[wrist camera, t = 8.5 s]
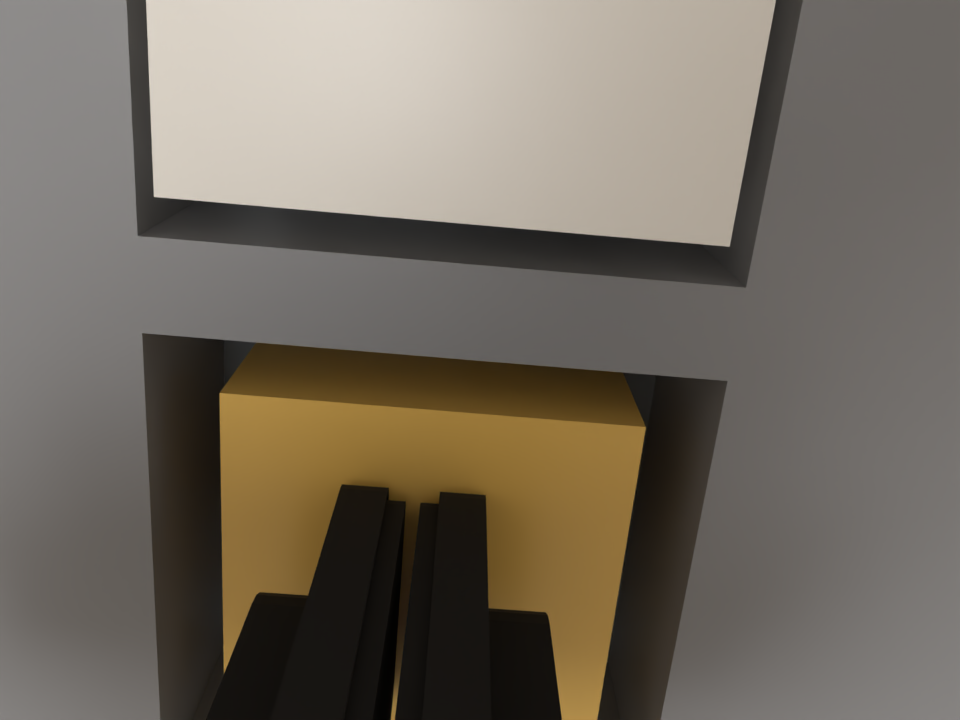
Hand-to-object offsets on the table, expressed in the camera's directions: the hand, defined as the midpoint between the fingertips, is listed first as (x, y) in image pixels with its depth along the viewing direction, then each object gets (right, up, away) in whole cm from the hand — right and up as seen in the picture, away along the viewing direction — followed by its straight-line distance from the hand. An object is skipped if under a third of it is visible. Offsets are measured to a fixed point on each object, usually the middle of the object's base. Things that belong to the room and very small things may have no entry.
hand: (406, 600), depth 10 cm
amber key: (0, +1, +2) cm, 3 cm away
